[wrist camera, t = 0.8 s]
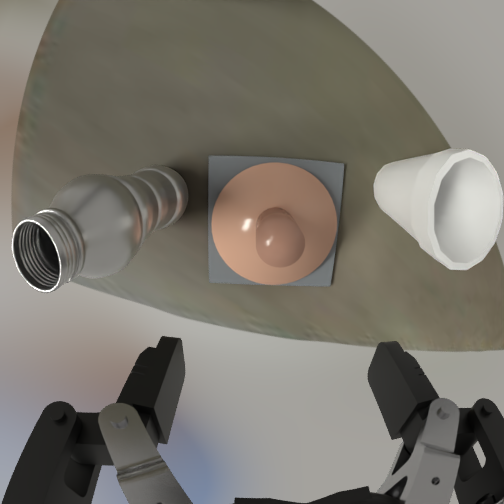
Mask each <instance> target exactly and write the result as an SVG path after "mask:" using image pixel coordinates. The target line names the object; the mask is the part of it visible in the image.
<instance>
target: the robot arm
mask: <svg viewBox="0 0 504 504" xmlns="http://www.w3.org/2000/svg"><path fill="white" fill-rule="evenodd" d="M184 377H185V362H184V354H183V346H182V340H181V339H180V338H174V337H165V336H162V337H161V339H160V341H159V343H158V345H157V347H156V348H153V347H148V348H147V349H146V350H144V351H143V352H142V353H141V354H140V355H139V357H138V359H137V361H136V363H135V366H134V367H133V369H132V371H131V373H130V375H129V377H128V379H127V381H126V383H125V385H124V387H123V389H122V391H121V393H120V396H119V398H118V400H117V402H116V403H113V404H110V405H108V406H106V407H105V408H103V409H102V410H101V412H99V413H82V412H76V411H75V409H74V408H73V407H72V406H71V405H70V404H69V403H66V402H62V401H57V402H53V403H51V404H49V405H48V406H47V407H46V408H45V409H44V410H43V412H42V414H41V416H40V418H39V420H38V421H37V423H36V426H35V427H34V429H33V431H32V433H31V435H30V437H29V439H28V441H27V443H26V445H25V448H24V450H23V452H22V454H21V456H20V458H19V461H18V463H17V465H16V467H15V470H14V472H13V475H12V477H11V479H10V482H9V485H8V487H7V490H6V493H5V495H4V498H3V501H2V504H91V503H92V498H93V495H94V491H95V487H96V484H97V480H98V477H99V473H100V470H101V466H102V465H115V468H116V470H117V473H118V474H117V479H118V482H119V484H120V486H121V488H122V490H123V493H124V494H125V496H126V498H127V500H128V502H129V504H193V503H192V502H191V500H190V499H189V498H188V496H187V495H186V493H185V492H184V490H183V489H182V488H181V486H180V485H179V483H178V482H177V480H176V479H175V477H174V476H173V474H172V472H171V471H170V469H169V468H168V466H167V465H166V463H165V461H163V459H162V458H161V456H160V454H159V452H158V451H157V445H158V443H163V444H167V442H168V439H169V435H170V431H171V427H172V423H173V419H174V416H175V412H176V408H177V404H178V401H179V397H180V393H181V390H182V386H183V382H184ZM368 382H369V384H370V387H371V389H372V391H373V394H374V396H375V399H376V401H377V404H378V406H379V408H380V411H381V413H382V416H383V418H384V421H385V423H386V426H387V429H388V431H389V434H390V436H391V439H392V440H393V439H397V438H401V437H402V439H403V442H402V443H401V445H400V448H399V450H398V452H397V455H396V457H395V460H394V462H393V465H392V467H391V469H390V471H389V474H388V476H387V478H386V480H385V482H384V483H383V484H382V485H381V487H380V488H379V490H378V491H377V492H376V493H372V492H370V491H369V487H368V486H366V487H362V488H357V489H353V490H347V491H341V492H338V493H335V494H332V495H329V496H327V497H324V498H321V499H318V500H315V501H312V502H309V503H296V502H288V501H282V500H276V499H271V498H235V503H234V504H449V502H450V498H451V496H452V492H453V488H454V489H455V492H456V495H457V499H458V502H459V504H504V418H503V416H502V415H501V413H500V411H499V410H498V408H497V406H496V405H495V404H494V403H493V402H492V401H491V400H489V399H485V398H482V399H479V400H478V401H476V403H475V404H474V405H473V407H472V408H458V407H457V405H456V404H455V403H454V402H452V401H451V400H449V399H445V398H439V396H438V394H437V393H436V391H435V389H434V388H433V386H432V385H431V383H430V381H429V380H428V378H427V376H426V375H424V372H423V370H422V369H421V368H420V365H419V364H418V362H417V361H416V359H415V358H414V357H413V356H411V355H410V354H409V353H407V352H404V351H403V349H402V347H401V346H400V344H399V343H398V342H397V341H392V342H381V343H379V344H378V346H377V349H376V352H375V354H374V357H373V359H372V362H371V364H370V367H369V370H368ZM477 441H479V444H480V446H481V448H482V450H483V452H484V455H485V457H486V462H485V465H484V467H483V468H482V467H481V465H480V463H479V460H478V458H477V456H476V454H475V451H474V449H473V445H474V444H475V443H476V442H477Z"/></svg>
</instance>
